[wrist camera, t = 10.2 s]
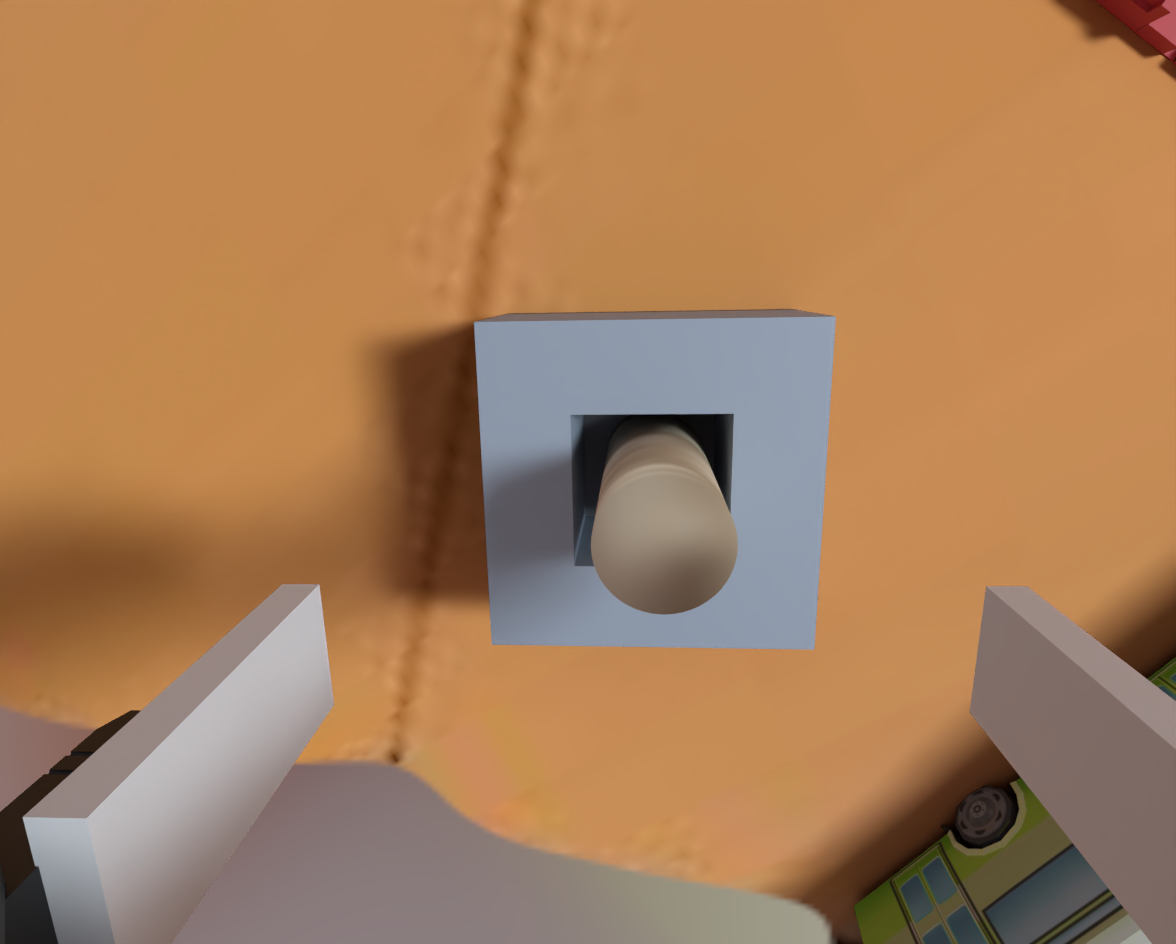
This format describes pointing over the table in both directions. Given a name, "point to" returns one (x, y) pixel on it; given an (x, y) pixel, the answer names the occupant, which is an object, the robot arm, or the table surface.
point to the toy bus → (1001, 880)
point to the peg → (661, 518)
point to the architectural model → (1148, 21)
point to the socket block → (579, 448)
